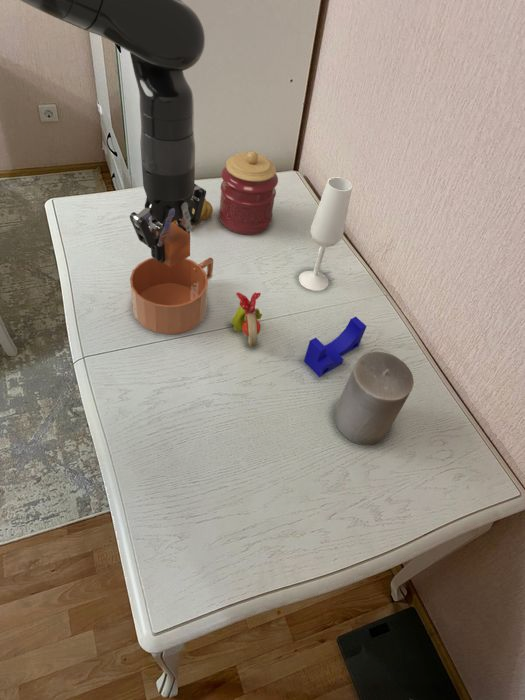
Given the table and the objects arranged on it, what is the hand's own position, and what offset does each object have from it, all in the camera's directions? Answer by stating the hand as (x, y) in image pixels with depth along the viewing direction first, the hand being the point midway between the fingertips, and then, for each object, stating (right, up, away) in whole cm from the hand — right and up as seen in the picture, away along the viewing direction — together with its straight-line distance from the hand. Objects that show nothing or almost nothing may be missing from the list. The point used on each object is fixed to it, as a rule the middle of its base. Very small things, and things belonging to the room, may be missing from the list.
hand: (170, 253), depth 84 cm
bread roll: (-3, +15, +36) cm, 39 cm away
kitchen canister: (+11, +16, +39) cm, 43 cm away
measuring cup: (-2, -7, +18) cm, 19 cm away
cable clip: (+29, -18, +14) cm, 37 cm away
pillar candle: (+33, -29, +4) cm, 44 cm away
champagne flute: (+27, -1, +27) cm, 38 cm away
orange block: (0, 0, 0) cm, 0 cm away
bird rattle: (+13, -14, +14) cm, 23 cm away
